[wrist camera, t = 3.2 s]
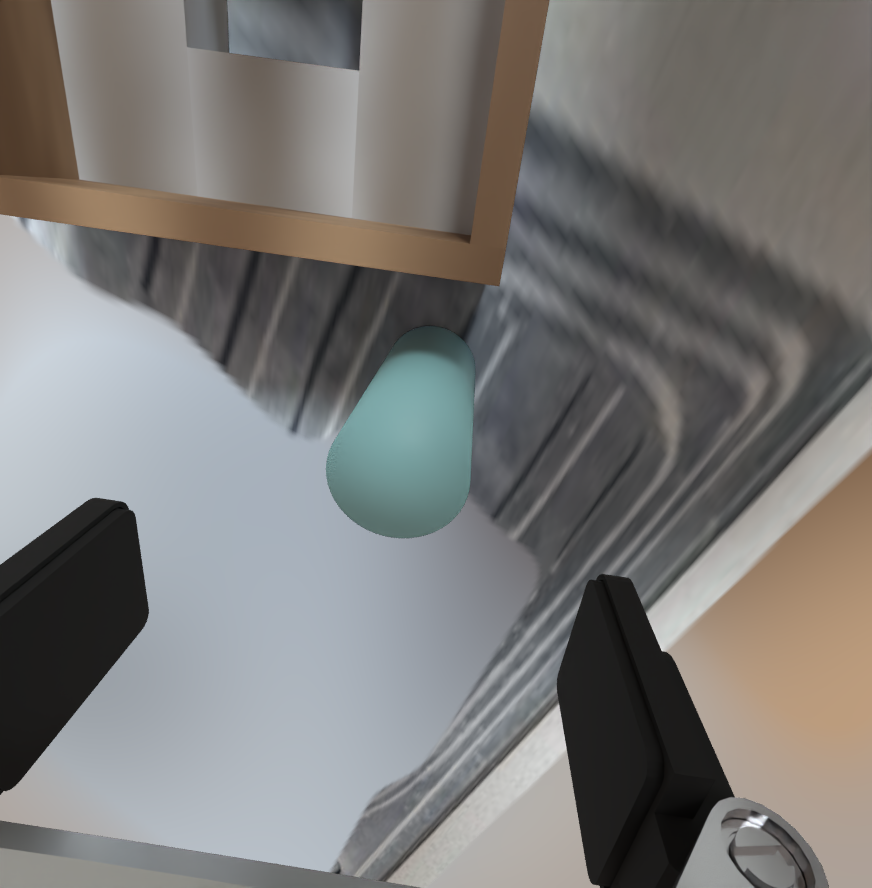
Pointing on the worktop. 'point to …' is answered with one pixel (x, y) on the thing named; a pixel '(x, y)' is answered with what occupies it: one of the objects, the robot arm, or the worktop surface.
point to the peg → (409, 439)
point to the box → (273, 130)
